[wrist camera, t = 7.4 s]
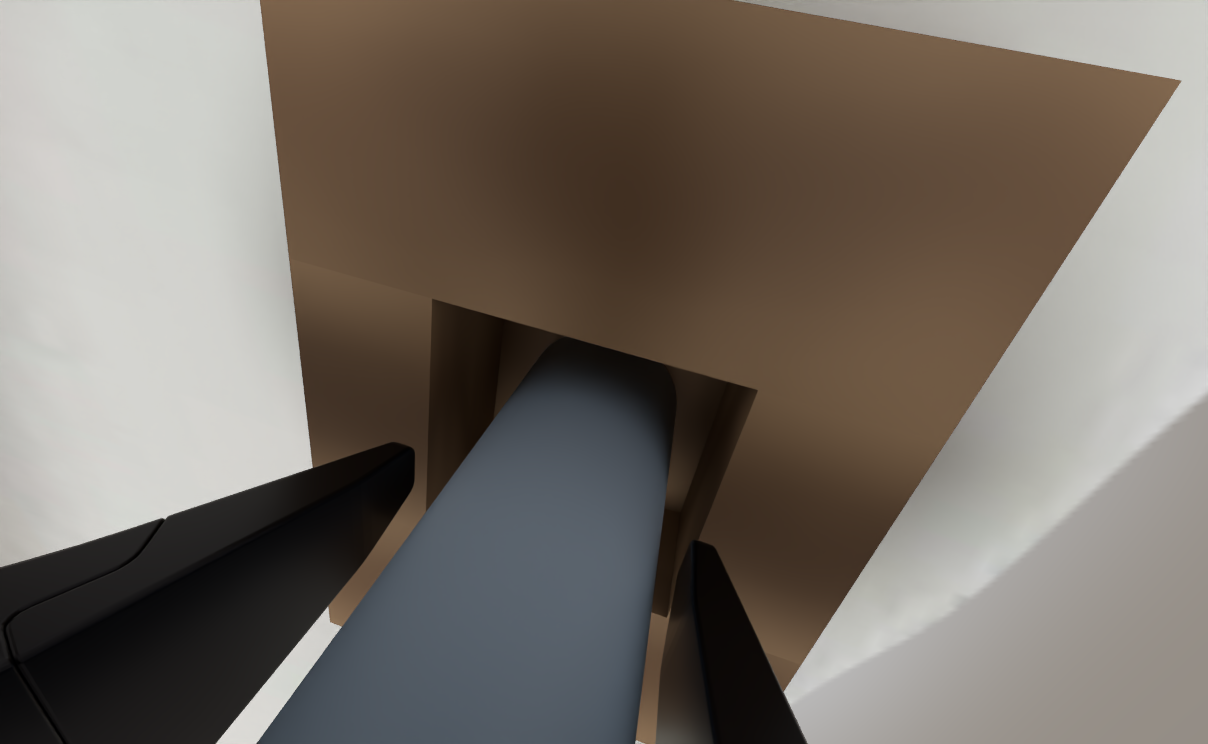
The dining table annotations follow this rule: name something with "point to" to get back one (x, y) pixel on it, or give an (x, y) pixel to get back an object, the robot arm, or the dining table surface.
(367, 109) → the socket block
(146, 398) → the dining table surface
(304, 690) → the pin
